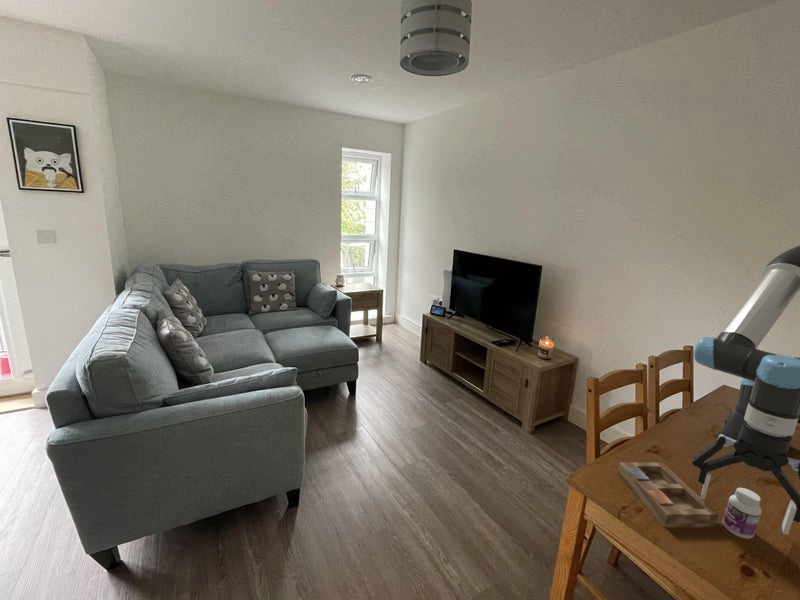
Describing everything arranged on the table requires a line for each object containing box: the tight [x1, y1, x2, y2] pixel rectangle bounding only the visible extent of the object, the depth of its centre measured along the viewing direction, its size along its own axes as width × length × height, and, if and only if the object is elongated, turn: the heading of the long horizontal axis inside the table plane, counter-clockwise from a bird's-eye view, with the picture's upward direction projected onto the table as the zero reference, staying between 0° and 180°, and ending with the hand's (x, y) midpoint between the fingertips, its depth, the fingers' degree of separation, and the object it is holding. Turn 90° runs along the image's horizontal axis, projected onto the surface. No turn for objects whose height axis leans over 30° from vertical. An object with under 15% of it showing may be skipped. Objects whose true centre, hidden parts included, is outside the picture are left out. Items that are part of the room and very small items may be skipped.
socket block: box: [616, 461, 719, 528], centre depth 91 cm, size 12×18×4 cm
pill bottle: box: [722, 487, 762, 540], centre depth 81 cm, size 5×5×10 cm
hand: (741, 512), depth 82 cm, fingers open, 13 cm apart
